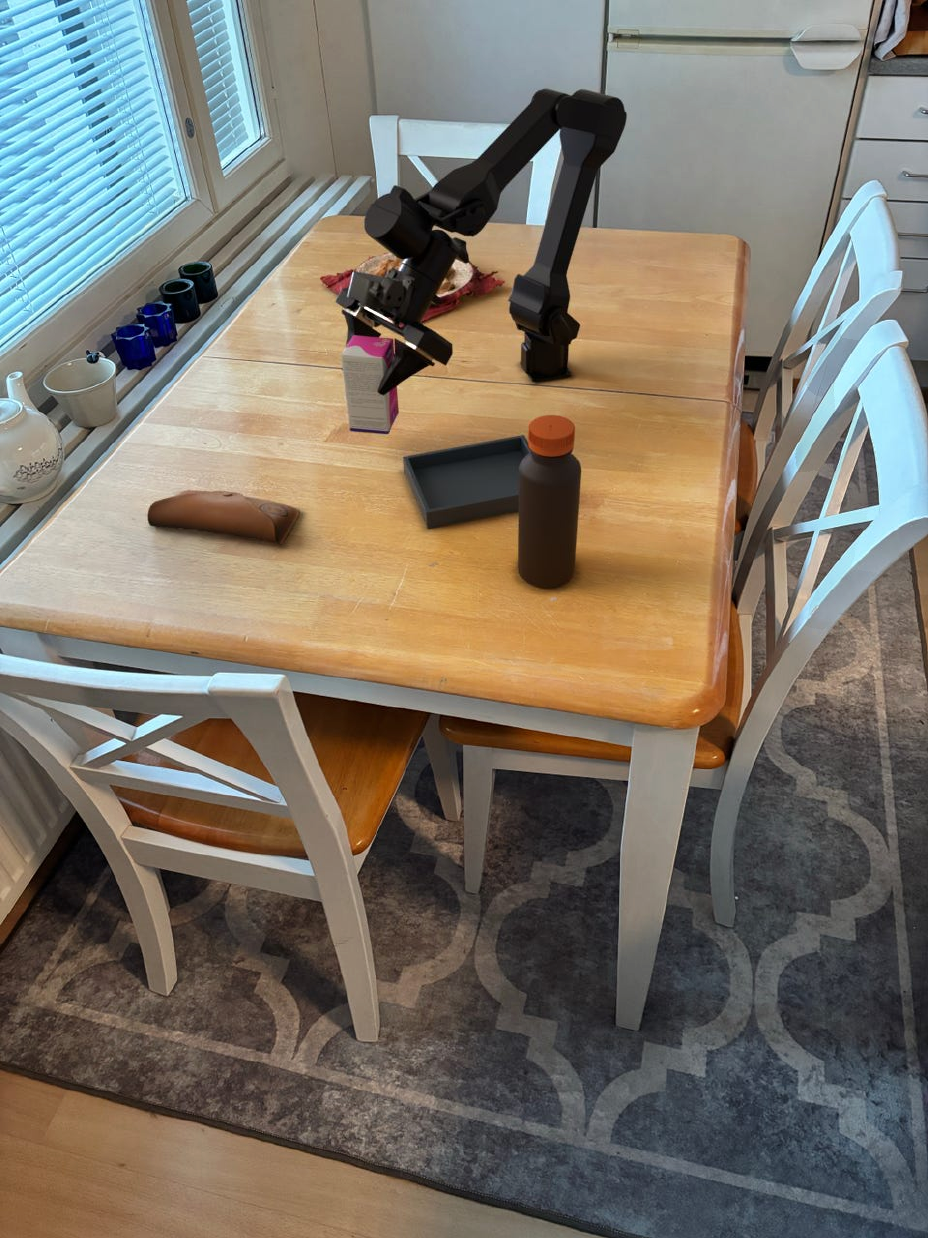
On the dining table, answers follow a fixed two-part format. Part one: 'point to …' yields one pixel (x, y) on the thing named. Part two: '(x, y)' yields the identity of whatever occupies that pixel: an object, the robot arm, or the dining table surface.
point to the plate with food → (453, 286)
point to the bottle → (548, 503)
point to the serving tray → (467, 480)
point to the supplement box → (368, 384)
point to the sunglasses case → (225, 515)
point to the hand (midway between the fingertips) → (361, 382)
